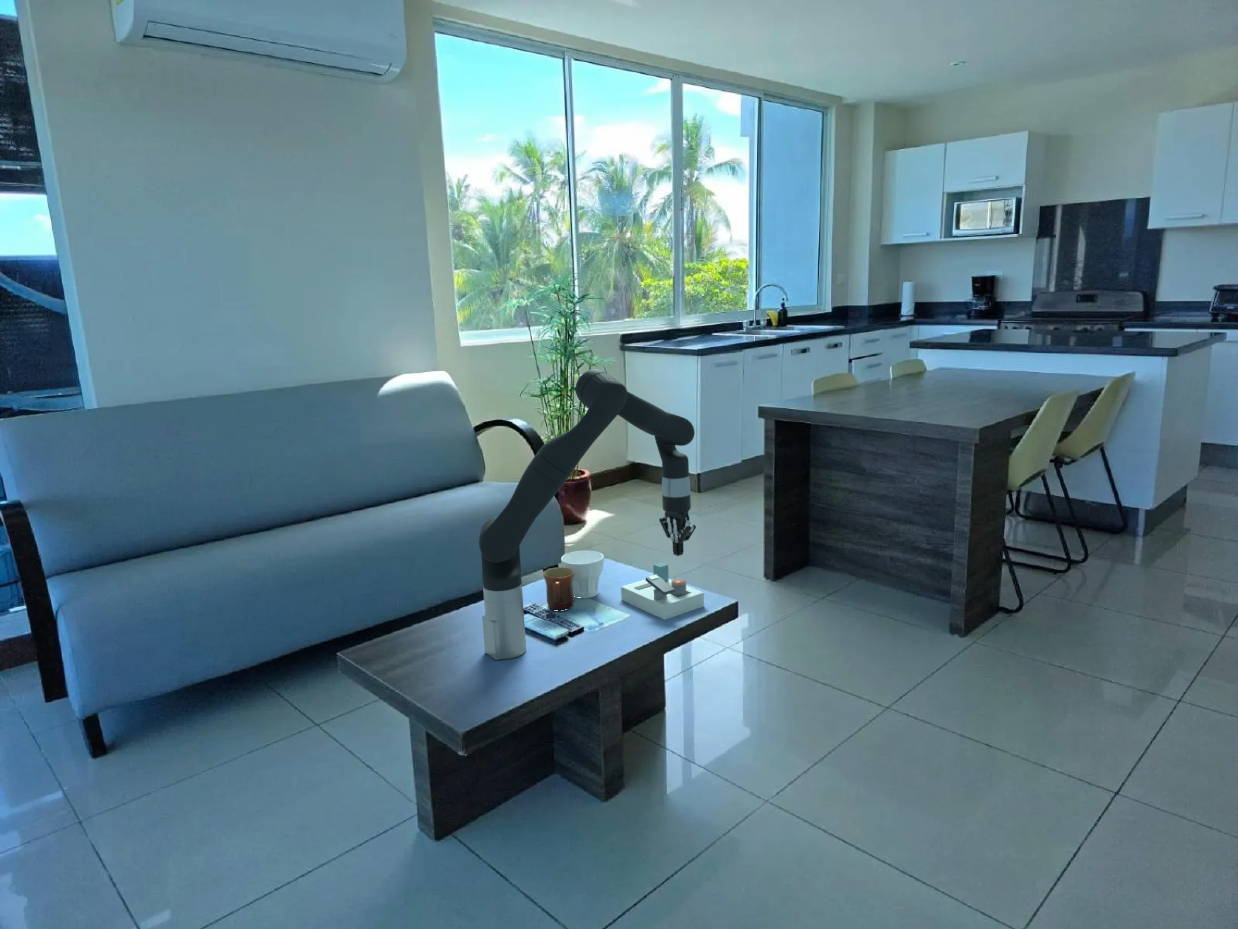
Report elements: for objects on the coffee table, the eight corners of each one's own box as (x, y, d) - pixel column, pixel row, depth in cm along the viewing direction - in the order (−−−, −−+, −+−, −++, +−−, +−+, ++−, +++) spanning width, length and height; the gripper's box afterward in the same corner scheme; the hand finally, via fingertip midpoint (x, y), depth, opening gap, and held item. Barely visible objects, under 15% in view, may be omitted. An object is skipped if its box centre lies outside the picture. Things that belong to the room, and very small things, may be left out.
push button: (678, 603, 214) (677, 585, 213) (668, 599, 217) (668, 581, 216) (689, 599, 216) (689, 581, 215) (679, 595, 219) (679, 577, 218)
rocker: (663, 595, 208) (664, 591, 207) (645, 580, 213) (646, 576, 213) (674, 592, 210) (675, 588, 209) (655, 577, 215) (656, 573, 215)
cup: (581, 604, 221) (579, 567, 219) (554, 594, 230) (551, 557, 228) (614, 592, 229) (612, 556, 227) (586, 582, 238) (585, 547, 236)
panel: (664, 619, 208) (663, 594, 207) (621, 599, 223) (620, 576, 222) (703, 606, 216) (703, 582, 215) (660, 588, 231) (659, 565, 230)
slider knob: (660, 582, 223) (659, 567, 222) (653, 579, 225) (653, 564, 224) (668, 579, 225) (668, 564, 224) (661, 577, 227) (661, 562, 226)
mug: (546, 602, 224) (544, 567, 222) (577, 601, 223) (575, 566, 221) (541, 619, 212) (539, 582, 210) (574, 618, 212) (572, 581, 210)
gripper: (703, 494, 207) (705, 557, 211) (671, 486, 218) (673, 546, 221) (681, 499, 203) (683, 563, 206) (649, 491, 213) (652, 552, 217)
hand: (678, 554), depth 214 cm, fingers closed
